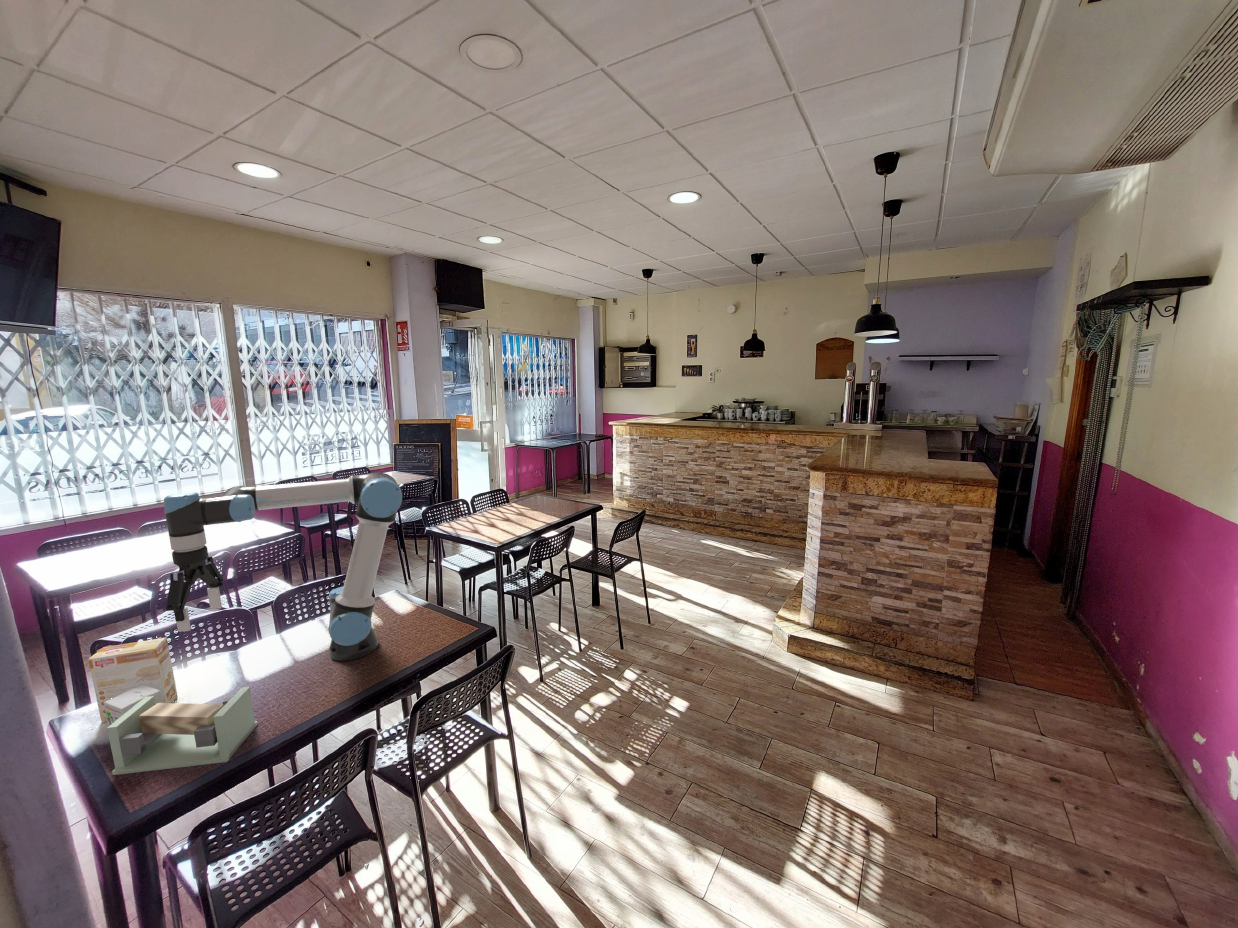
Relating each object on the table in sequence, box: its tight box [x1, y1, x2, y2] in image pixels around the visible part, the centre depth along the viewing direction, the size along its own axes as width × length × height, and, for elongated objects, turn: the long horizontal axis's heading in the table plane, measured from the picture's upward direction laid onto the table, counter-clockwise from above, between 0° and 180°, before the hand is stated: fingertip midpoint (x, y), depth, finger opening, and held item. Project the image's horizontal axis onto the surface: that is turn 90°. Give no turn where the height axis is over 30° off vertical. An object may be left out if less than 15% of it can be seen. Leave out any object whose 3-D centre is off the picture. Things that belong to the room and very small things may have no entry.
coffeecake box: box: [87, 637, 178, 723], centre depth 144 cm, size 15×7×20 cm, turn 110°
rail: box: [139, 702, 224, 735], centre depth 128 cm, size 18×5×5 cm, turn 87°
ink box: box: [104, 685, 162, 727], centre depth 134 cm, size 8×8×12 cm
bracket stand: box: [106, 686, 259, 776], centre depth 128 cm, size 25×14×12 cm, turn 99°
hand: (201, 619), depth 143 cm, fingers open, 13 cm apart
